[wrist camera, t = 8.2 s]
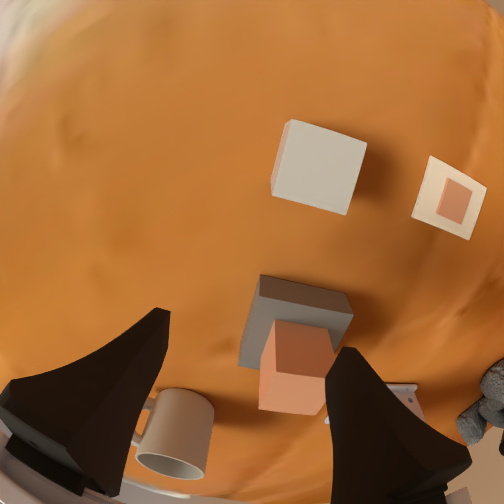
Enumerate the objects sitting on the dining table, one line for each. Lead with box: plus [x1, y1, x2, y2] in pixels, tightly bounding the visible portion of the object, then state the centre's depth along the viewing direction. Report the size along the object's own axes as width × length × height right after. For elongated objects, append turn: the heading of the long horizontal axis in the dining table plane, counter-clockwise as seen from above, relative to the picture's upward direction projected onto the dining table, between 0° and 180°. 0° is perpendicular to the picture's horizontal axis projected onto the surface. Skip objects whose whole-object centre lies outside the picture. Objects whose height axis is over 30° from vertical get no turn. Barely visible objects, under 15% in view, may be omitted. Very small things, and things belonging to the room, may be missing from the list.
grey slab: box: [238, 275, 354, 370], centre depth 21 cm, size 7×7×3 cm
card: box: [411, 156, 487, 240], centre depth 18 cm, size 7×5×1 cm
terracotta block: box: [259, 319, 336, 415], centre depth 18 cm, size 4×4×5 cm
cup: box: [131, 388, 214, 480], centre depth 24 cm, size 7×10×9 cm
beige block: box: [271, 119, 367, 215], centre depth 15 cm, size 4×4×5 cm
